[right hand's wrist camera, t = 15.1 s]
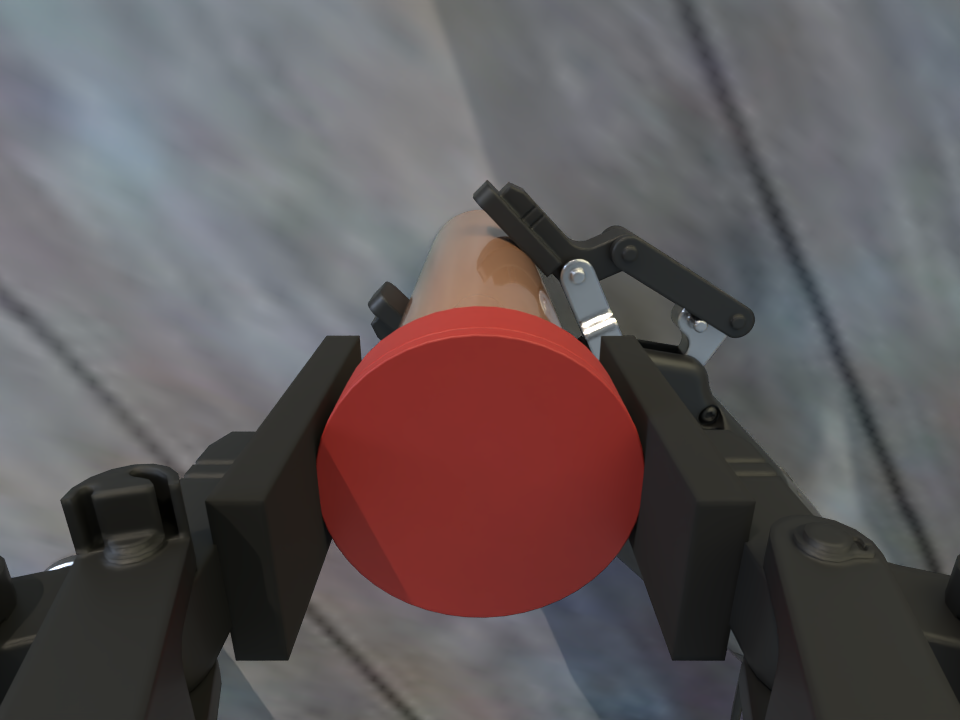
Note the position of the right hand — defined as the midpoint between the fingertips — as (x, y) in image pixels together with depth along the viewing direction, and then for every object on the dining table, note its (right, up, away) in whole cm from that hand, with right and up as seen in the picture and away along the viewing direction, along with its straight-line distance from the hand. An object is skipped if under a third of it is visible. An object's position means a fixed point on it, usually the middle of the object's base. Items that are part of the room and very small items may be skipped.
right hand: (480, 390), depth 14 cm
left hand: (-2, +5, +7) cm, 9 cm away
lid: (0, -1, -4) cm, 4 cm away
